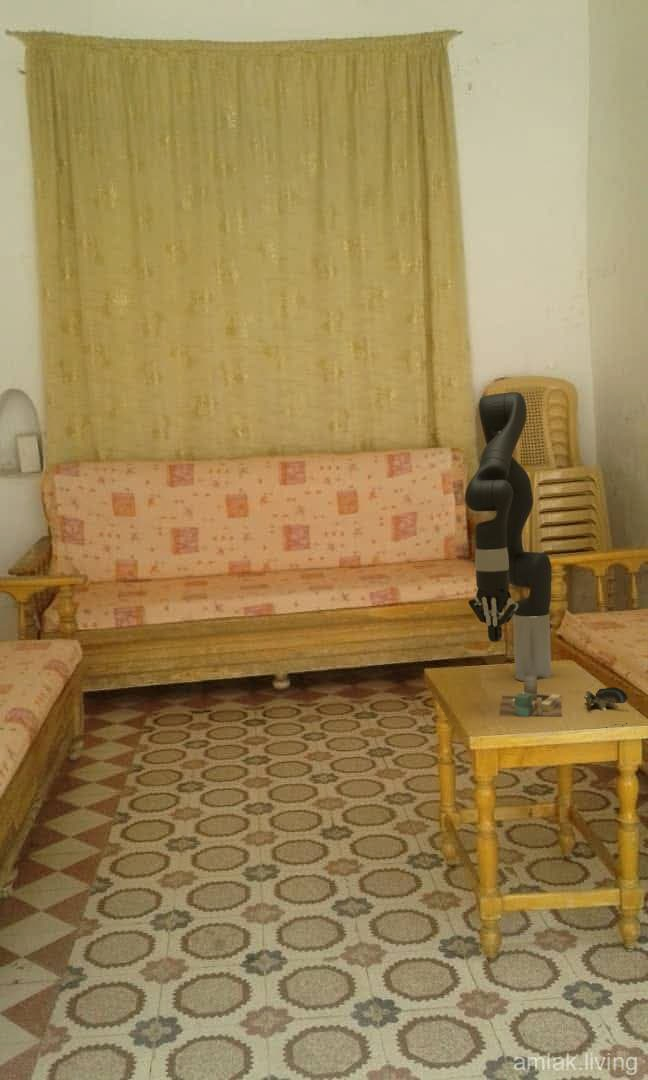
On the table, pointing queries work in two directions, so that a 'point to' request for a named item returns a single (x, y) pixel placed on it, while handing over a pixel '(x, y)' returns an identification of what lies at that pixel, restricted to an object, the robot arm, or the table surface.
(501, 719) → the table surface
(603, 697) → the brown squirrel figurine
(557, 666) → the table surface
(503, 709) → the post board
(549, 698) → the square frame with handle
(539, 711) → the dowel pin
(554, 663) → the table surface
